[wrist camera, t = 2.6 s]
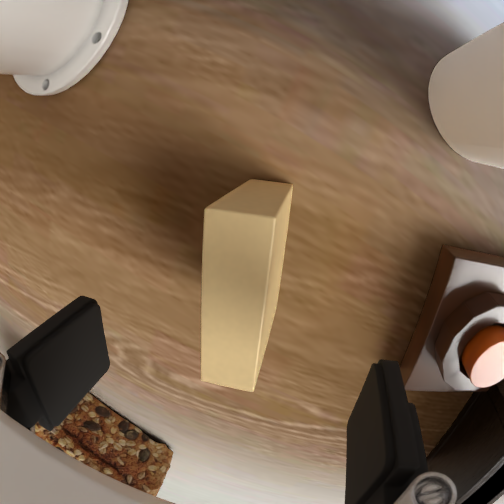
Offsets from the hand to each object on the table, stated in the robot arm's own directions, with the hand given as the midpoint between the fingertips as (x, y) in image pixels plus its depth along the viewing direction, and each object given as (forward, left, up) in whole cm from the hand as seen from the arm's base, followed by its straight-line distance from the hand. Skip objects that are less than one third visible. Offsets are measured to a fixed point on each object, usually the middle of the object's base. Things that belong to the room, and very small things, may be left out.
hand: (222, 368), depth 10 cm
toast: (0, 0, -11) cm, 11 cm away
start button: (+3, +15, -7) cm, 16 cm away
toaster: (+14, +23, -11) cm, 28 cm away
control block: (+3, +15, -11) cm, 18 cm away
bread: (+25, -17, -11) cm, 32 cm away
